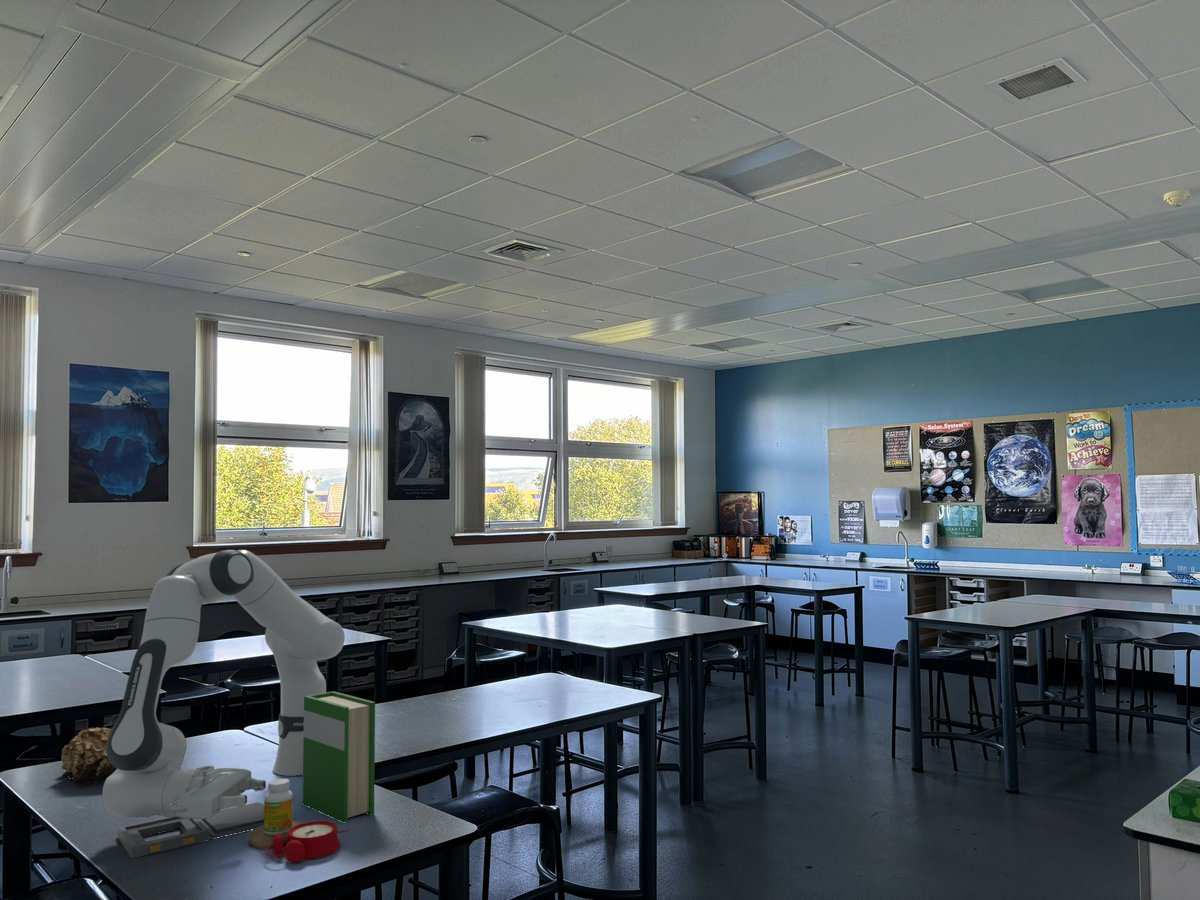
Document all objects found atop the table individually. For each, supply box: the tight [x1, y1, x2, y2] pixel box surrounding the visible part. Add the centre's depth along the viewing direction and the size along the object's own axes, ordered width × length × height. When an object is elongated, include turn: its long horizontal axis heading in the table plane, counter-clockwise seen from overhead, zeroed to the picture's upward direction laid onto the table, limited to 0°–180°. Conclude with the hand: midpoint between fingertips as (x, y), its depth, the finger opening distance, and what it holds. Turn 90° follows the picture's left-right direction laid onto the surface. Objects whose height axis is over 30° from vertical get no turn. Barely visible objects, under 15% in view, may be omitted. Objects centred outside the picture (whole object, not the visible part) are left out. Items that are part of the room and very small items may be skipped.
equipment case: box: [117, 801, 264, 859], centre depth 178 cm, size 28×15×2 cm, turn 129°
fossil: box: [61, 726, 118, 786], centre depth 216 cm, size 23×14×15 cm, turn 46°
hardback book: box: [302, 690, 376, 823], centre depth 191 cm, size 18×7×24 cm, turn 47°
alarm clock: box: [264, 820, 351, 864], centre depth 167 cm, size 10×6×15 cm
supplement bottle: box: [263, 778, 294, 835], centre depth 174 cm, size 5×5×10 cm
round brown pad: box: [248, 820, 304, 850], centre depth 174 cm, size 11×11×2 cm
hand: (255, 792), depth 174 cm, fingers open, 8 cm apart
